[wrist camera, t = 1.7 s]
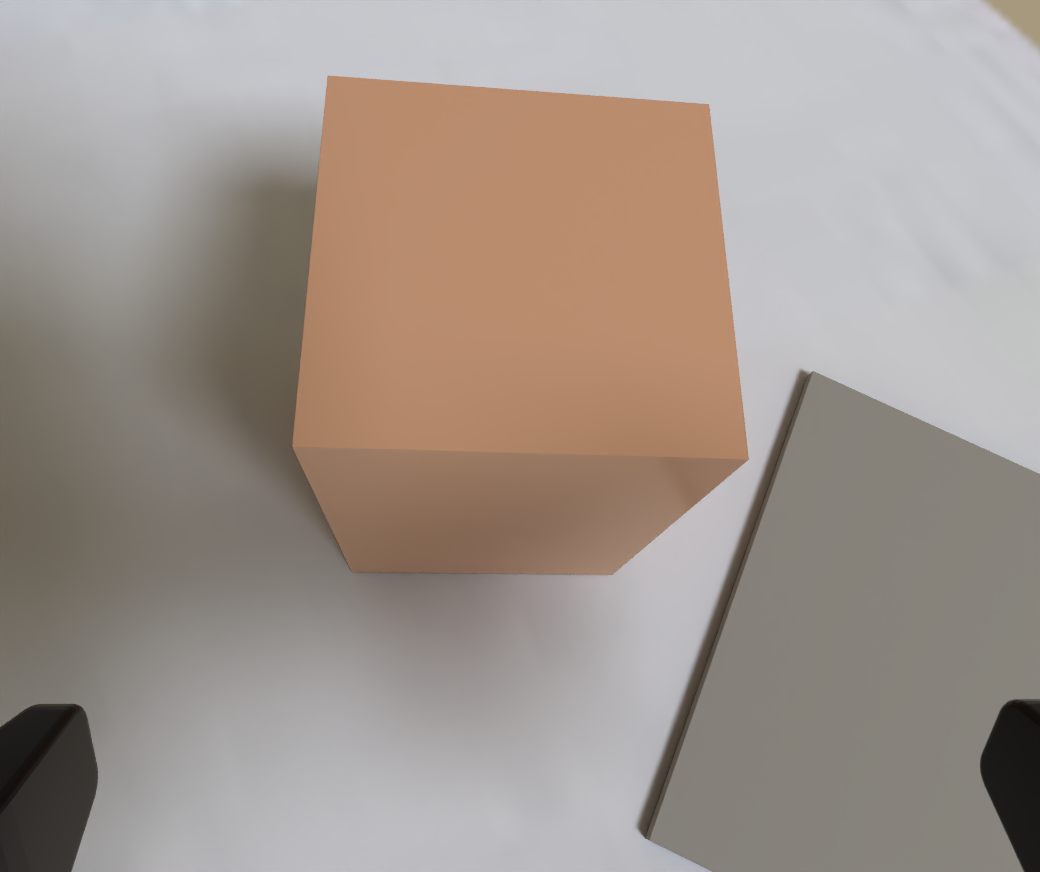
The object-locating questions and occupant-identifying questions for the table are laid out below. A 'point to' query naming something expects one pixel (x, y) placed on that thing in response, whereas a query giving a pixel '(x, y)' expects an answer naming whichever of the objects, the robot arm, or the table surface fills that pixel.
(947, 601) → the rubber mat
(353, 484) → the tan cardboard box
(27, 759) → the robot arm
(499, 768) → the table surface
